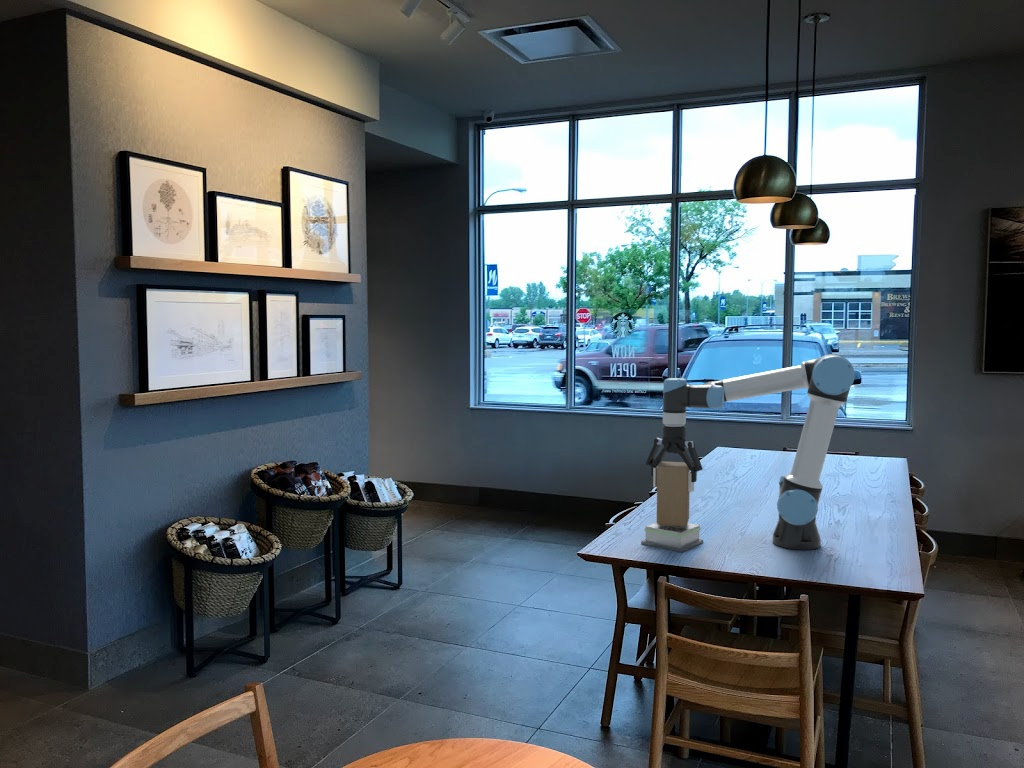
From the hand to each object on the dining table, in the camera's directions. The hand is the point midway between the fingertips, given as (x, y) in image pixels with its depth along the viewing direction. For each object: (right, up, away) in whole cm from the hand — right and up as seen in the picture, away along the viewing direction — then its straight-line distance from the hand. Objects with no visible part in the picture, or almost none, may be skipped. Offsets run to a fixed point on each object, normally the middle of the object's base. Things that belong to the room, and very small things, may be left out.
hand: (673, 489), depth 267 cm
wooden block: (0, -12, +1) cm, 12 cm away
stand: (0, -18, +1) cm, 18 cm away
